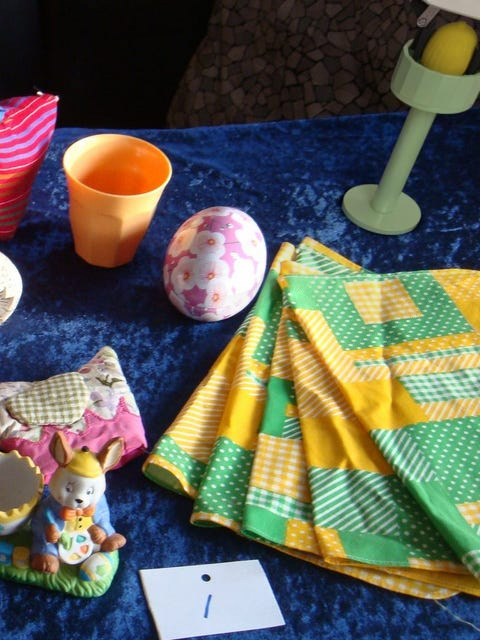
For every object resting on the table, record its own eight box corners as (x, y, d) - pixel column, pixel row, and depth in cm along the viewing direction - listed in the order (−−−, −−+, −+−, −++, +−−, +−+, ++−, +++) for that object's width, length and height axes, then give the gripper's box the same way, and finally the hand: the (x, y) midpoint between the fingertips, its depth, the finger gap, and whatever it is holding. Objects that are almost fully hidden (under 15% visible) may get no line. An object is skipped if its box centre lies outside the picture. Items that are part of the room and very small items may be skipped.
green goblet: (428, 208, 114) (504, 52, 97) (403, 246, 108) (479, 87, 92) (357, 181, 118) (418, 26, 101) (329, 216, 112) (389, 59, 96)
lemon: (463, 82, 100) (493, 17, 94) (454, 103, 97) (484, 37, 91) (415, 70, 102) (441, 5, 96) (405, 90, 98) (431, 25, 93)
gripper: (418, -112, 85) (360, 55, 99) (601, -70, 78) (512, 103, 92) (442, -132, 89) (383, 31, 103) (617, -94, 82) (529, 75, 96)
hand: (444, 63), depth 97 cm, fingers closed on lemon, 5 cm apart
